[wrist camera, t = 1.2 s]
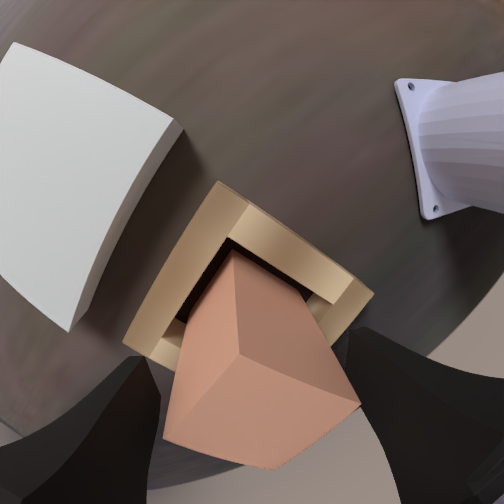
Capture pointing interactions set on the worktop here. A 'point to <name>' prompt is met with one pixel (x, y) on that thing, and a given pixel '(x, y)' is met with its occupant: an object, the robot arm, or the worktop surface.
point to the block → (254, 372)
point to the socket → (260, 243)
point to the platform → (69, 176)
